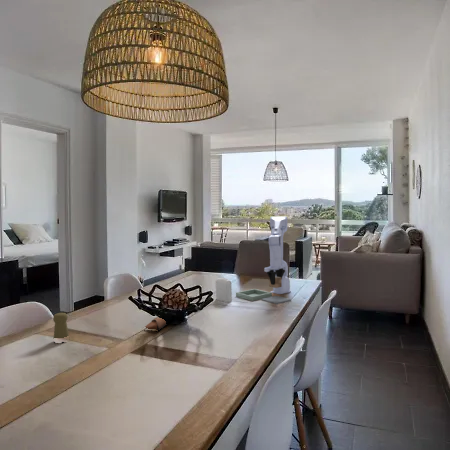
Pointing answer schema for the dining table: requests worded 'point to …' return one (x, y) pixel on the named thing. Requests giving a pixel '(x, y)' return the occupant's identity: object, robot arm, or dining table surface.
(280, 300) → the slate mat
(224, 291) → the white rounded block
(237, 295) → the bin
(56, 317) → the cork
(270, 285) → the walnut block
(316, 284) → the dining table surface
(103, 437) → the dining table surface
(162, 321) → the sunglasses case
